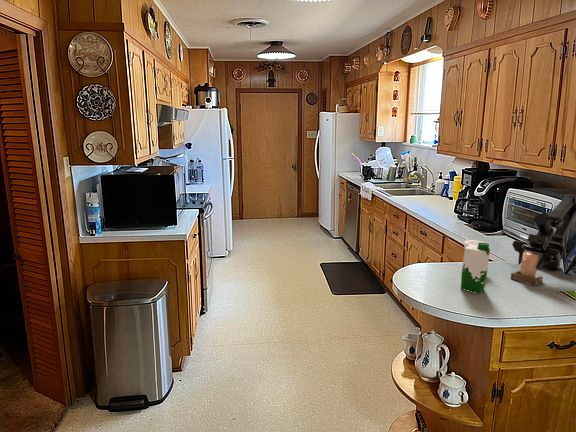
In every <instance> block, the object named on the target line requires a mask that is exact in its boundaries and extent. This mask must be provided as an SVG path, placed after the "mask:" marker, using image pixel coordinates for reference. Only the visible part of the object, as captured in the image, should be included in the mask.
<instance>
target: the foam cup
mask: <svg viewBox="0 0 576 432" xmlns="http://www.w3.org/2000/svg"><path fill="white" fill-rule="evenodd" d="M478 243H485V242H484V241H481V240H473V239H472V240H471V239H470V240H464V249H465V248H466V247H467V246H469V245H470V244H473V245H478Z"/></svg>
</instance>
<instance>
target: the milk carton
mask: <svg viewBox="0 0 576 432" xmlns="http://www.w3.org/2000/svg"><path fill="white" fill-rule="evenodd" d="M490 254H491V247H490V244H489V243H487V242H484V243H478V245H473V244H470V245H469V246H467V247H466V248H465V247H464V253H463V261H462V269H461V276H460V277H461V279H460V280H461V282H460V283H461V284H460V290H461V289H465V290H469V291H472V292H471V293H473V292H476V293H479V294H481V292H483V291H484V289H485V287H486V286H485V285H486V282H487V281H486V280H487V274H488V267H489V261H490V260H489V259H490ZM465 290H464V291H465ZM469 291H468V292H469ZM476 293H475V294H476Z"/></svg>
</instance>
